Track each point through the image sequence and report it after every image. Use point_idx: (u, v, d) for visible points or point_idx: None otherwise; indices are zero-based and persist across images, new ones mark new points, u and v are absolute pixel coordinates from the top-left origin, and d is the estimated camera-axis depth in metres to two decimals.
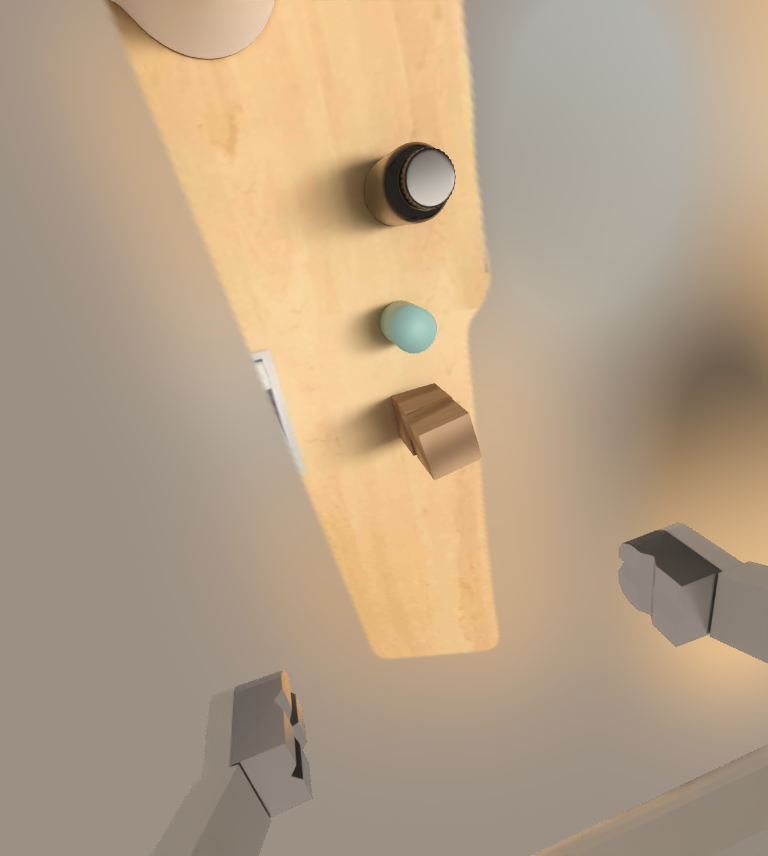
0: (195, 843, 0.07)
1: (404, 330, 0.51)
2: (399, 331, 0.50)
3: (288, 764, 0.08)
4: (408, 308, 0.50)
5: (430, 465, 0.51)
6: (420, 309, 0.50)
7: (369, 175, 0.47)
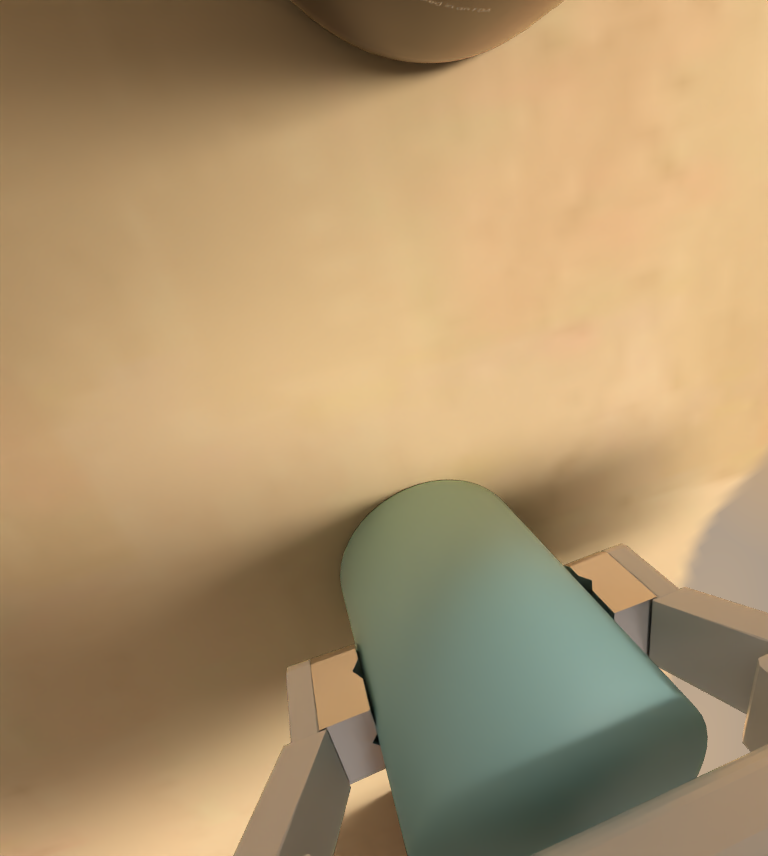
0: (296, 801, 0.07)
1: (494, 832, 0.07)
2: (457, 847, 0.07)
3: (370, 731, 0.08)
4: (531, 688, 0.06)
5: None
6: (628, 698, 0.06)
7: None
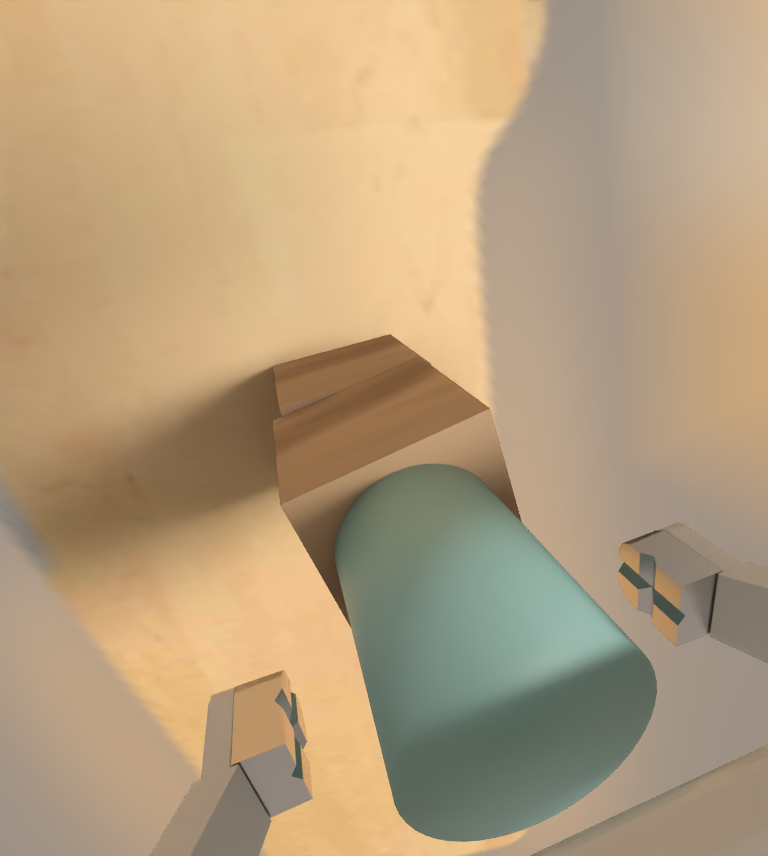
0: (195, 843, 0.07)
1: (465, 761, 0.08)
2: (432, 773, 0.08)
3: (288, 764, 0.08)
4: (496, 631, 0.07)
5: (344, 606, 0.14)
6: (580, 641, 0.07)
7: None
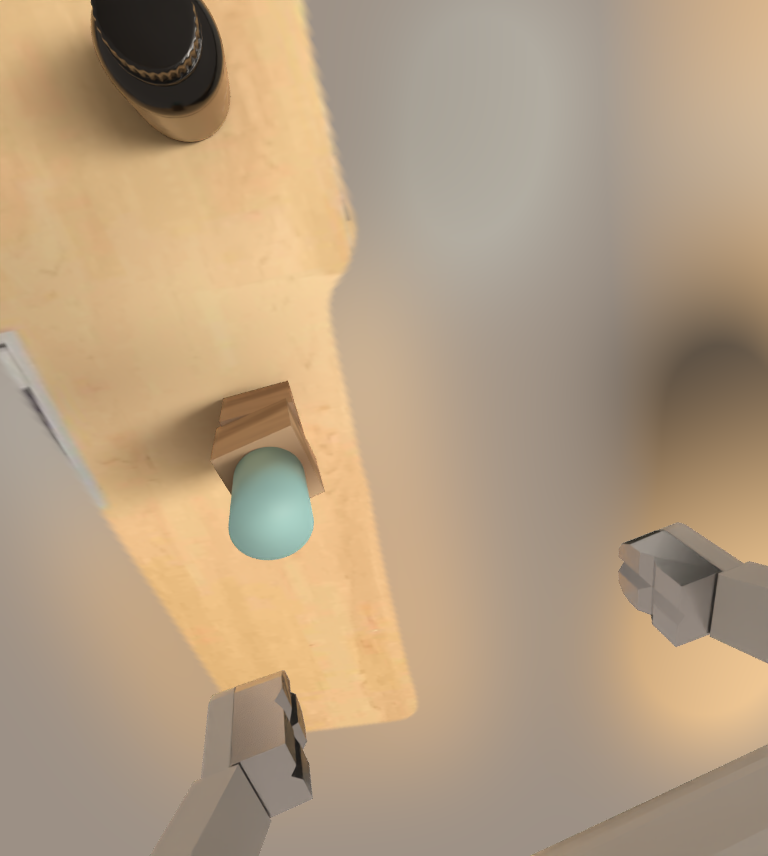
0: (195, 843, 0.07)
1: (250, 527, 0.28)
2: (240, 529, 0.28)
3: (288, 764, 0.08)
4: (256, 490, 0.27)
5: None
6: (278, 492, 0.27)
7: None
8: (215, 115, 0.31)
